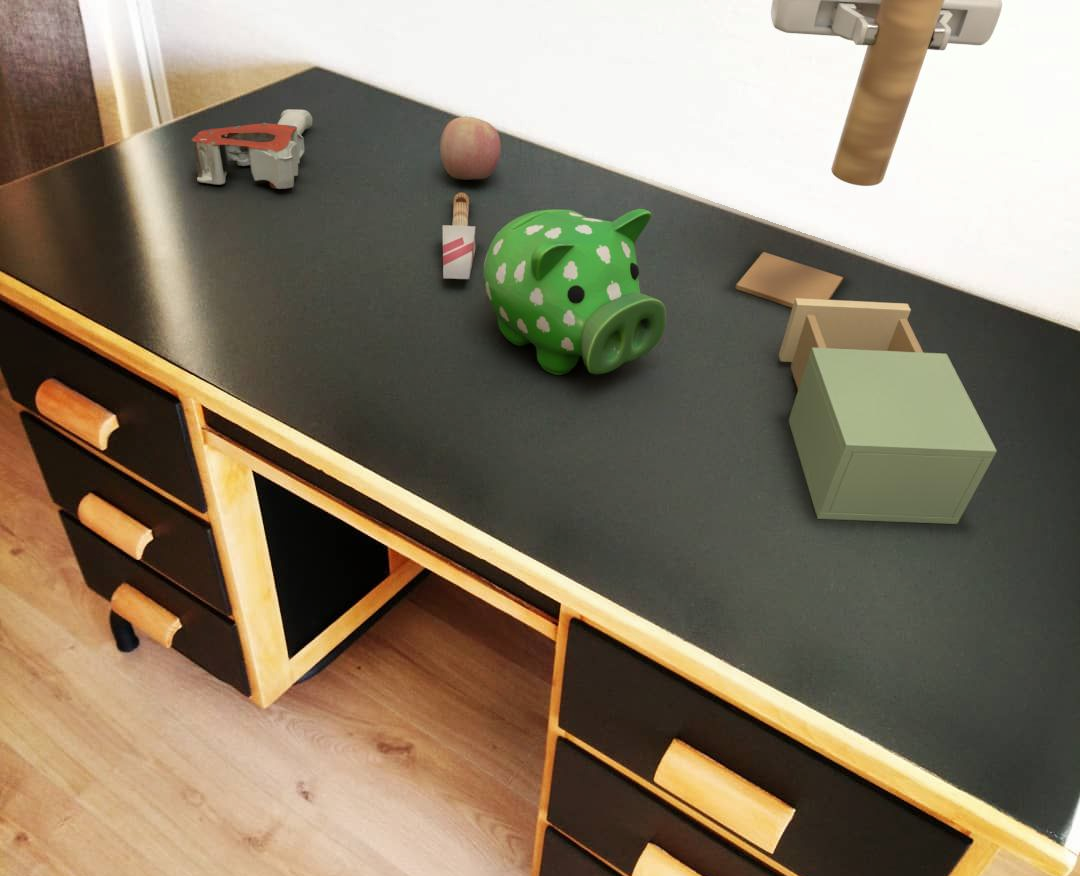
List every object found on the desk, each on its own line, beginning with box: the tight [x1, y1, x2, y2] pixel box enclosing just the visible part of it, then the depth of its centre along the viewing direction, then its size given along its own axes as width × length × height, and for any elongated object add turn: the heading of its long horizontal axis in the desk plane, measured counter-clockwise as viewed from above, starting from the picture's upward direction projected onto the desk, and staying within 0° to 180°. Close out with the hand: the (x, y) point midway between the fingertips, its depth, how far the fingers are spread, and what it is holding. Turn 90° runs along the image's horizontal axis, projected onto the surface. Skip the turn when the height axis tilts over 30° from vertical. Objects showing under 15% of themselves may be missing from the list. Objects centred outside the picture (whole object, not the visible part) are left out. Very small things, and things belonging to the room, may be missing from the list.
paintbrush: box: [442, 192, 477, 280], centre depth 110 cm, size 4×3×20 cm
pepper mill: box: [830, 0, 944, 187], centre depth 83 cm, size 5×5×21 cm
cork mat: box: [735, 251, 844, 309], centre depth 109 cm, size 10×9×1 cm
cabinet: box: [788, 348, 998, 525], centre depth 84 cm, size 14×13×9 cm
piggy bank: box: [482, 208, 667, 376], centre depth 92 cm, size 14×18×15 cm
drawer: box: [778, 298, 924, 390], centre depth 92 cm, size 14×11×7 cm
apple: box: [439, 116, 502, 181], centre depth 120 cm, size 8×8×8 cm
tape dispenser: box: [190, 108, 314, 190], centre depth 120 cm, size 18×5×20 cm
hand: (904, 38), depth 81 cm, fingers closed on pepper mill, 5 cm apart
